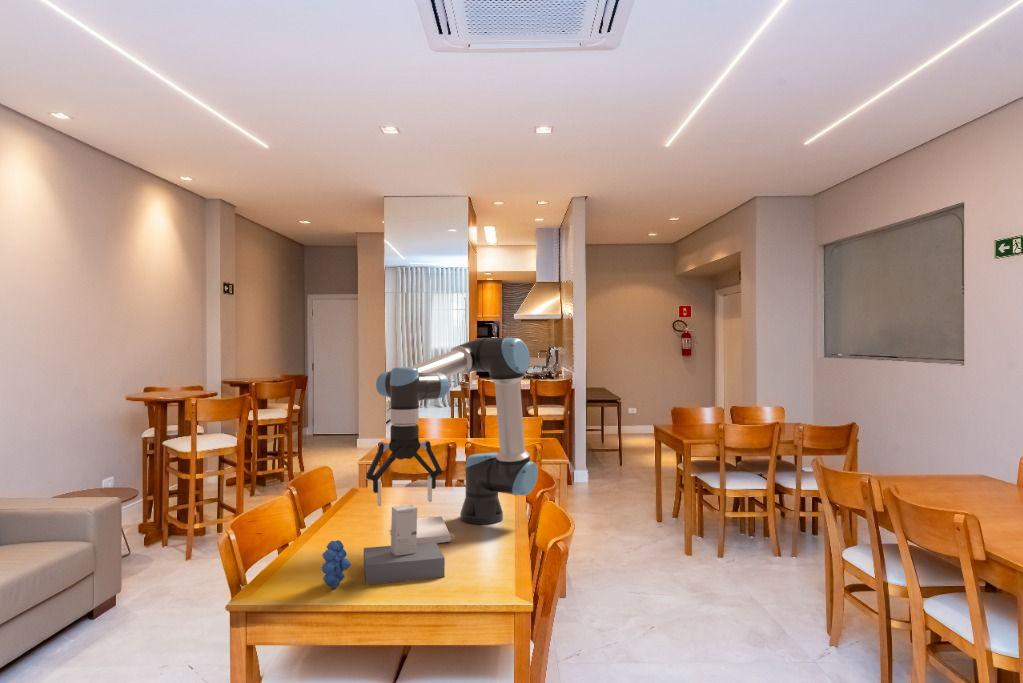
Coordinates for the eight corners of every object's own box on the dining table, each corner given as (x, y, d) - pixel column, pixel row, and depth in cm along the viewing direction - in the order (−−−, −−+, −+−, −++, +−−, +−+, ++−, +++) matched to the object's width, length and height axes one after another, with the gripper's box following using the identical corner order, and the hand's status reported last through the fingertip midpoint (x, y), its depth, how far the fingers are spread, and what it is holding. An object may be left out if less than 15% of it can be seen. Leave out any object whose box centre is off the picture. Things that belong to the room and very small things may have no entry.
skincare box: (395, 556, 160) (395, 510, 160) (390, 551, 164) (390, 506, 164) (417, 553, 163) (417, 508, 163) (412, 548, 167) (412, 504, 167)
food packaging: (450, 546, 188) (441, 526, 207) (450, 535, 188) (441, 516, 207) (401, 550, 184) (396, 529, 203) (401, 539, 184) (396, 519, 203)
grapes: (341, 597, 145) (342, 547, 145) (314, 596, 146) (315, 546, 146) (359, 579, 157) (359, 533, 157) (333, 578, 157) (334, 532, 158)
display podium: (435, 559, 172) (435, 541, 173) (444, 577, 159) (444, 557, 159) (363, 566, 167) (363, 547, 167) (366, 584, 153) (366, 564, 153)
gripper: (447, 420, 171) (447, 495, 171) (356, 424, 164) (356, 502, 164) (452, 424, 164) (452, 502, 164) (357, 428, 157) (357, 510, 156)
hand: (404, 502), depth 164 cm, fingers open, 13 cm apart
